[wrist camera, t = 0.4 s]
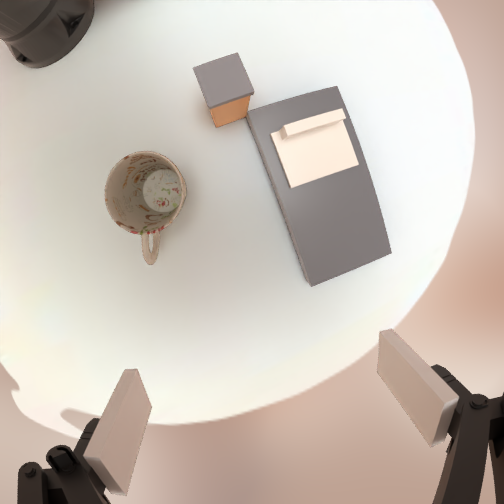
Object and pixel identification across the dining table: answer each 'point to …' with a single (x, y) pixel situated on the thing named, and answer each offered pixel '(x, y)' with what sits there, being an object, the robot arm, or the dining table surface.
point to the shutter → (314, 147)
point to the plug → (225, 88)
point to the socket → (323, 195)
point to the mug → (145, 196)
